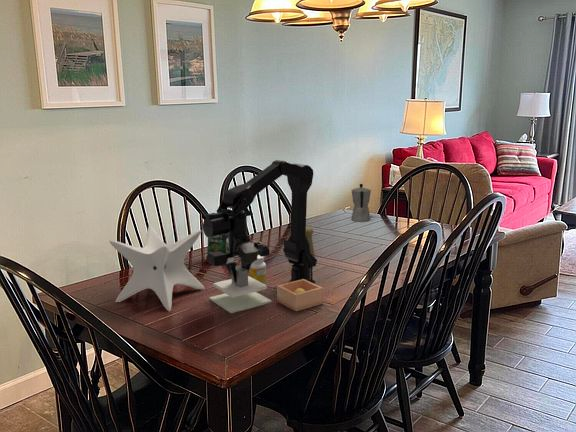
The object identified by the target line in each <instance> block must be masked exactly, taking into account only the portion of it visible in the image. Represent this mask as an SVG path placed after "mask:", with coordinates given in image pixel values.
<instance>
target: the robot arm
mask: <svg viewBox="0 0 576 432" xmlns="http://www.w3.org/2000/svg"><path fill="white" fill-rule="evenodd" d="M282 176H286V177H287V178H286V180H287V184H288V186H289V189H290V191H291V204H290V205H291V206H290V207H291V208H290V209H291V210H290V211H291V212H290V213H291V214H290V234H289V237H288V238H287V239H284V240H283V250H282V252H283V253H284V257H285V258H286V259H287V260H288V263H289V264H291V270H290V277H291V278H290V279H289V282H293V281H297V280H301V279H305V280H307V281H309V282H311V283H314V284H316V280H314V279H313V274H314V273H313V269H314V267H316V266H317V262H318V259H317V258H316V257H315V255H312V254H311V253H310V244H309V242H308V240H307V238H306V227H307V209H308V208H307V207H308V191H309V190H310V188H311V187H312V184H313V178H314V169H313V168H312V166H311V165H309V164H301V163H290V162H287V161H285V160H279V159H275V160H274V161H272V162H271V164H270V165H268V166H267V167H265V168H264V169H263V170H261V171H259V173H257V174H256V175H255V176H254V177H252V178H250V179H249V180H247V182H244V183H242V184H238V185H236V186H233V187H232V188H229V189H227V190H226V191H225V192H224V194H223V199H222V200H221V203H220V204H219V206H218V208H217V210H216V212H212V213H213V214H211V213H206V214H205V218H204V220H203V223H202V231H203V234H204V235H205V236H206V238H207V239H208V238H211V237H216V236H221V235H225V234H226V238H228V242H229V247H227V251H229V253H225V254H224V253H222V252H220V251H216V252H211V253H208V255H207V256H206V263H208V264H209V265H211V266H214V267H220V266H225V267H226V269H227V271H228V274H229V276H230V279H232V280H233V282H235V283H236V266H238V263H237V262H235V259H236V258H240V266H241V267H243V268H245V269H247V270H248V273H250V266H251V264H252V263H253V262H254V261H255V260H257V259H258V258H257V256H258V255H260V256H261V257H263V256H264V257H267V256H269V255H270V248H269V246H268V245H265V244H263V242H261V241H256V242H252V241H251V236H250V235H249V234H248V221H247V217H249V216H253V215H254V213H253V212H252V211H251V210H250V209H249V207H250V205H251V204H252V203H253V202H254V200H255V197H256V196H257V195H258V194H259V193H261V192H262V191H263V190H264V189H266V188H267V187H268V186H270V185H271V184H272V183H273V182H275V181H277V180H278V179H279V178H281V177H282ZM227 233H228V234H227Z"/></svg>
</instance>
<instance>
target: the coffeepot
mask: <svg viewBox="0 0 576 432" xmlns="http://www.w3.org/2000/svg"><path fill="white" fill-rule="evenodd" d="M363 186H364V184H363V183H359V187H356V188H352V189H351V197H352V203H353V209H352V214H351V220H352V222H356V223H367V222H370V220H371V215H370V210H369V209H370V208H369V204H370V199H371V198H370V197H371V193H372V190H371V189H369V188H365V187H363Z"/></svg>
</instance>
